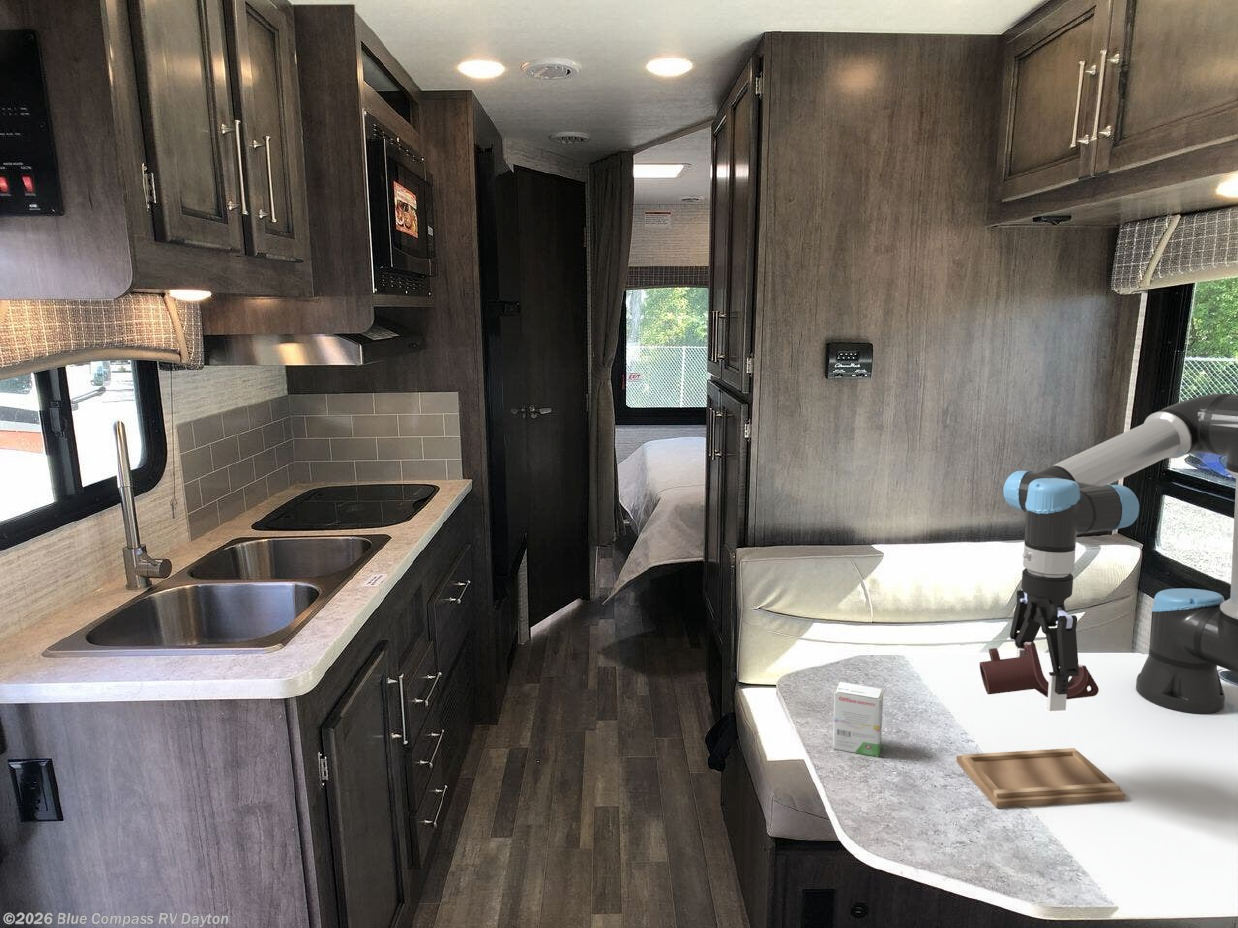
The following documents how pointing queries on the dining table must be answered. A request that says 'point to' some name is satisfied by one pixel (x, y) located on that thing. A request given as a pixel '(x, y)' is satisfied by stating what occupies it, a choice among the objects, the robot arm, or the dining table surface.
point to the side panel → (1039, 778)
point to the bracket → (1029, 675)
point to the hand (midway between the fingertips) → (1039, 695)
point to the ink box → (857, 719)
